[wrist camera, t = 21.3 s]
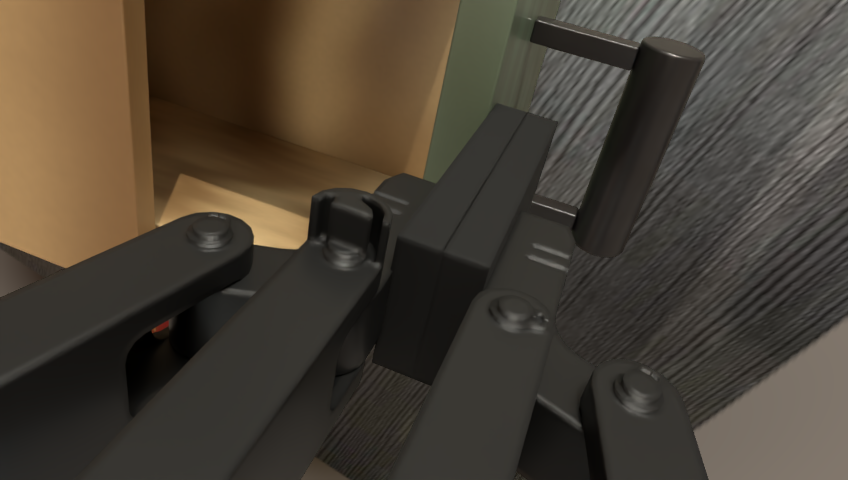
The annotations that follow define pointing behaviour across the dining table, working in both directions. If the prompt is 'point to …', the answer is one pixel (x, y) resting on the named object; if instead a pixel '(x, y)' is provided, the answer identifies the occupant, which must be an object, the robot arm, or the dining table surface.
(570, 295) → the dining table surface
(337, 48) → the drawer
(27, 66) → the cabinet
